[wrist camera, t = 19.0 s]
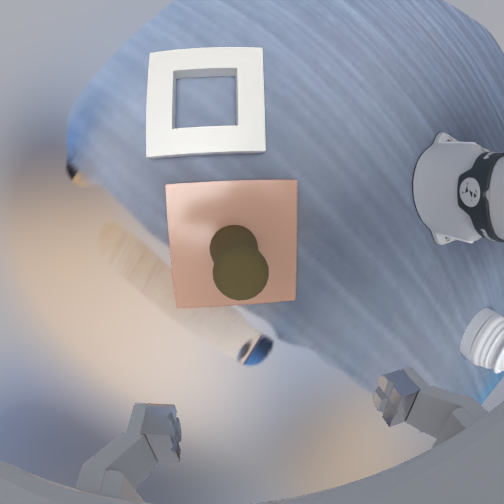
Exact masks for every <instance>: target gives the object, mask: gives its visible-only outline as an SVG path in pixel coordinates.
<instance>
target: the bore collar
mask: <svg viewBox="0 0 504 504" xmlns="http://www.w3.org/2000/svg"><path fill="white" fill-rule="evenodd" d="M219 76H235V83H236V126H207V127H190V128H177V129H176V79H183V78H197V77H219ZM265 151H266V144H265V109H264V79H263V53H262V48H254V47H210V48H192V49H180V50H170V51H161V52H154V53H150V58H149V70H148V86H147V112H146V157H147V158H150V159H158V158H169V157H182V156H196V155H216V154H256V153H263V152H265Z"/></svg>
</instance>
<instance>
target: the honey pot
mask: <svg viewBox="0 0 504 504" xmlns="http://www.w3.org/2000/svg"><path fill="white" fill-rule="evenodd" d="M460 350H461V353H462V354H463V355H464V356H465V357H466V358H467V359H469V360H470V361H471V362H472V363H474V364H475V365H477V366H482V367H486V368H487V369H488V368H491V369H494V372H495V373H499V372H501V371H504V317H502V316H501V315H499V314H498V313H496V312H494V311H492V310H491V309H489V308H484V309H482V310H481V311H479V312H478V313H477V314H476V315H475V317H474V318H473V319H472V320H471V322H470V323H469V325H468V327H467V329H466V331H465V333H464V335H463V338H462V341H461V346H460Z"/></svg>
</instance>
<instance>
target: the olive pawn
mask: <svg viewBox="0 0 504 504" xmlns="http://www.w3.org/2000/svg"><path fill="white" fill-rule="evenodd" d="M210 255H211V257H212V260H213V262H214V266H213V280H214V282H215V285H216V287H217V288H218V289H219V291H220V292H221V293H222V294H223V295H225V296H226V297H228V298H230V299H234V300H238V301H240V300H248V299H251V298H253V297H255V296H257V295H258V294H259V293H261V292H262V290H263V289H264V287H265V286H266V284H267V281H268V277H269V267H268V264H267V261H266V259H265V258H264V256H263V255H262V254H261V253H260V251H258V243H257V240H256V237H255V236H254V235H253V233H252V232H251V231H250V230H249V229H247V228H245V227H244V226H240V225H228V226H225V227H223V228H221V229H220V230H218V231H217V232H216V233H215V235H214V236H213V238H212V239H211V243H210Z"/></svg>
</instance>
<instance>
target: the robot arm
mask: <svg viewBox="0 0 504 504" xmlns="http://www.w3.org/2000/svg"><path fill="white" fill-rule="evenodd" d="M447 141H448V142H447ZM413 193H414V200H415V205H416V208H417V211H418V213H419V215H420V217H421V219H422V221H423V222H424V223H425V224H426V225H427V226H428V227H429V229H430V230H431V232H432V235H433V238H434V240H435V242H436V244H439V245H444V244H447V243H449V242H452V241H455V240H460V241H463V242H467V243H473V242H474V241H477V240H479V239H480V238H482V237H485V238H487V239H489V240H492V241H498V242H504V153H500V152H489V150H488V149H485V148H481V145H479V144H476V143H475V142H459V141H458V140H456V139H455V138H453V137H451V136H450V135H448V134H446V133H441V132H440V133H438V134H437V136H436V138H435V141H434V143H433V144H432V146H430V147H429V148H428V149H427V150H426V151H425V152H424V153H423V154H422V155H421V157H420V159H419V161H418V163H417V166H416V169H415V173H414V180H413ZM377 384H378V385H379V387H378V388H377V389H376V390H375V392H374V395H373V400H374V404H375V407H376V408H377V410H378V411H381V412H383V416H382V417H383V419H384V420H385V421H386V423H387V424H388V426H389V427H391V426H393V425H396V424H399V423H402V422H405V421H406V423H408V424H410V425H412V426H414V427H416V428H417V429H419V430H421V431H423V432H425V433H427V434H429V435H431V436H433V437H435V438H437V439H436V441H435V442H434V444H433V445H432V448H431V449H430V450H428V451H426V452H424V453H422V454H420V455H418V456H416V457H414V458H412V459H410V460H408V461H406V462H403V463H401V464H399V465H397V466H394V467H392V468H389V469H387V470H385V471H382V472H380V473H377V474H374V475H372V476H369V477H366V478H364V479H360V480H357V481H354V482H351V483H348V484H345V485H342V486H338V487H335V488H331V489H327V490H324V491H320V492H316V493H311V494H307V495H302V496H297V497H292V498H287V499H281V500H275V501H268V502H260V503H252V504H504V401H503V402H502V403H500V404H499V405H498V406H497V407H495V408H494V409H493V410H492V411H490V412H489V413H488V412H487V411H486V410H485V409H484V408H483V407H482V406H481V405H480V404H479V403H478V402H477V401H476V400H475V399H474V398H471V397H468V396H464V395H461V394H458V393H455V392H451V391H448V390H445V389H442V388H439V387H435V386H429V385H428V384H427V383H426V382H425V381H424V380H423V379H422V378H421V377H420V375H419V374H418V373H417V372H416V371H415V370H414V369H413V368H411V367H407V368H404V369H401V370H398V371H395V372H391V373H388V374H385V375H382V376H380V377H379V378H378V382H377ZM176 413H177V411H176V407H175V405H172V404H150V403H148V404H146V403H135V405H134V406H133V410H132V414H131V418H130V421H129V425H128V429H127V433H122V434H121V435H119V436H118V437H117V438H116V439H114V440H113V441H112V442H111V443H109V444H108V445H107V446H106V447H104V448H103V449H102V450H101V451H99V452H98V453H97V454H95V455H94V456H93V457H92V458H90V459H89V460H87V461H86V462H85V463H83V465H82V468H81V472H80V475H79V479H78V482H77V485H76V489H74V488H71V487H67V486H64V485H61V484H58V483H55V482H52V481H49V480H46V479H43V478H41V477H38V476H36V475H33V474H30V473H28V472H26V471H24V470H21V469H19V468H16V467H14V466H12V465H10V464H8V463H6V462H4V461H0V504H152V503H145V502H144V501H143V499H142V498H141V497H140V496H139V495H138V493H137V492H136V491H135V490H136V489H137V487H138V486H139V485H140V484H141V483H142V481H143V480H144V479H145V478H146V477H147V475H148V474H149V473H150V472H151V471H152V470H153V469H154V468H155V466H156V465H157V464H158V462H180V451H181V449H180V446H179V442H180V441H181V425H180V421H179V418H177V417H176Z"/></svg>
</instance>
